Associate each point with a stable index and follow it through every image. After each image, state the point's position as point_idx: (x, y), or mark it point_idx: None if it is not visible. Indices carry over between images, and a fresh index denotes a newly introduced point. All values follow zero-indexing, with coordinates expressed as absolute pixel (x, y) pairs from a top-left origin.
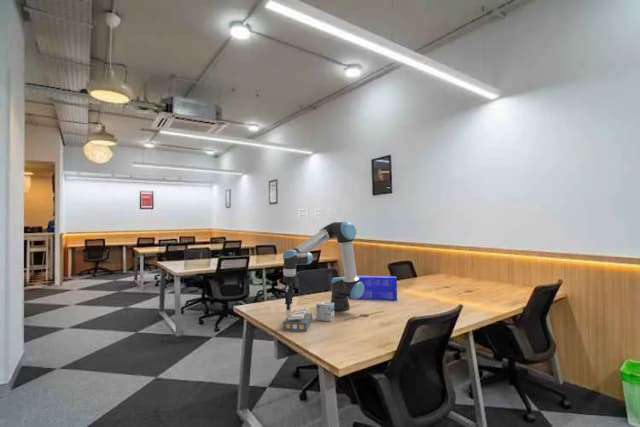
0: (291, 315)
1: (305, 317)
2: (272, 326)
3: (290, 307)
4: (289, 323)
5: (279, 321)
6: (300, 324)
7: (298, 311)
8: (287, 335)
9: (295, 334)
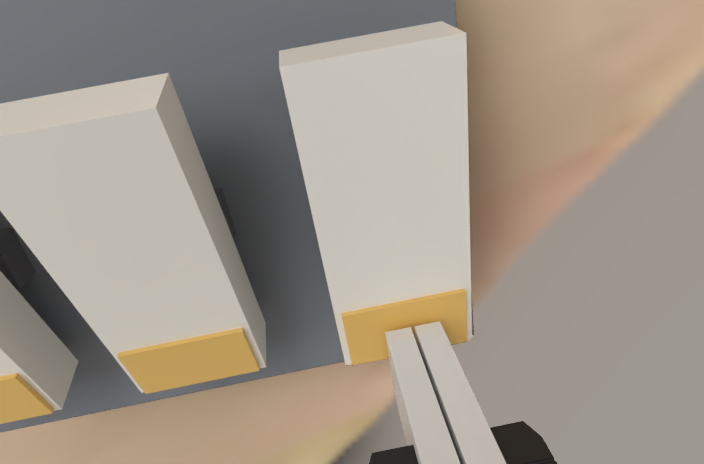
0: (422, 303)
1: (81, 88)
2: (338, 421)
3: (504, 459)
4: None
5: (145, 439)
6: None
7: (79, 295)
8: (599, 151)
9: (555, 63)
